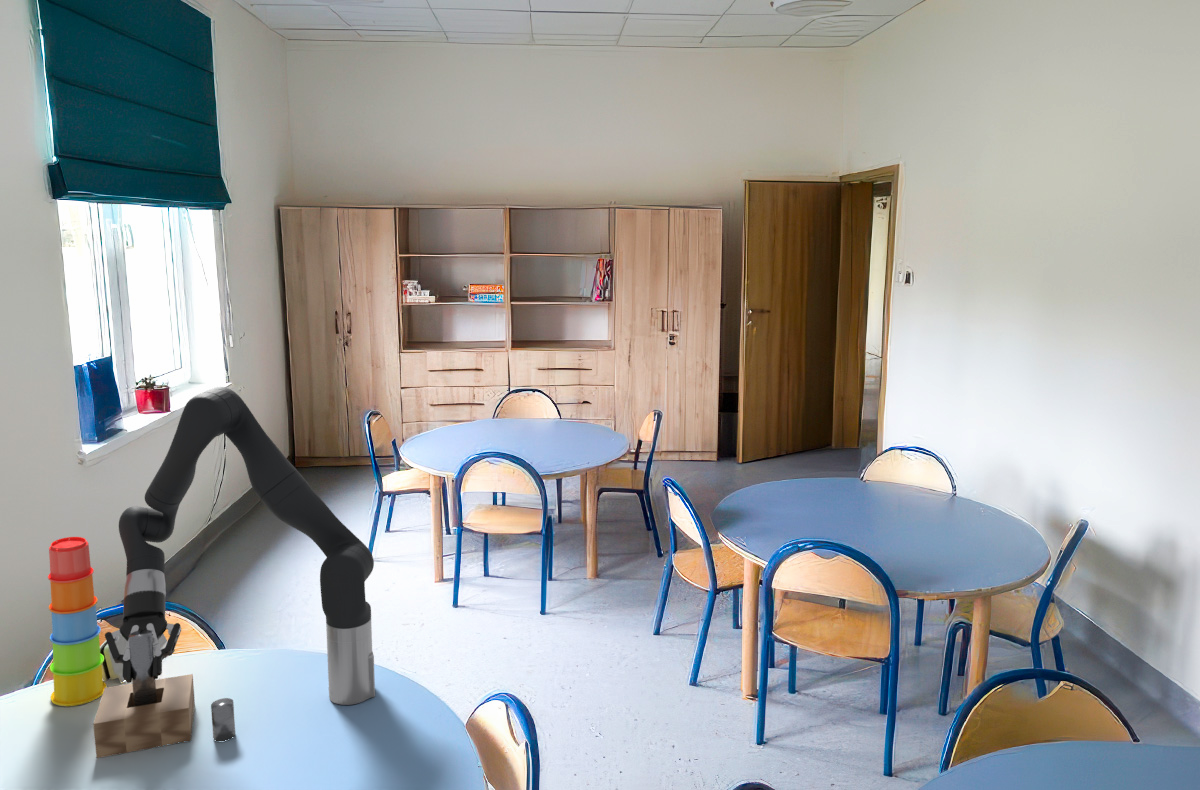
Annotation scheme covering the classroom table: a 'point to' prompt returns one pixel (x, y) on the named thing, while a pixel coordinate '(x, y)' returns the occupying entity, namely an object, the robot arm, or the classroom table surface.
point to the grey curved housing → (116, 669)
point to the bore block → (144, 717)
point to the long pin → (142, 667)
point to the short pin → (223, 719)
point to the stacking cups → (74, 625)
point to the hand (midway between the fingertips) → (142, 679)
